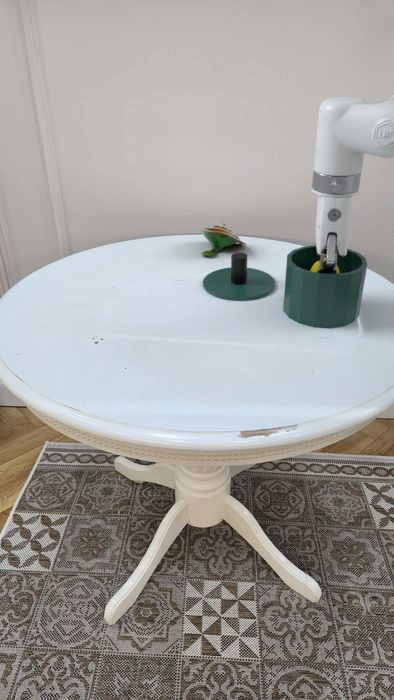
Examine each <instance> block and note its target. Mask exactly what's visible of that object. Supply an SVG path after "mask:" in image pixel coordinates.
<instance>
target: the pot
mask: <svg viewBox="0 0 394 700" xmlns="http://www.w3.org/2000/svg"><path fill="white" fill-rule="evenodd" d="M316 255H318V253H317V248H316V244H314V245H305V246H301V247H298V248H295V249H292V250H291V251H290V252H288V254H287V255H286V264H285V265H286V267H285V280H284V294H283V308H282V311H283V312H284V314H285V315H286V316H287V318H288V319H290V320H292V321H294V322H296V323H298V324H300V325H303V326H307V327H311V328H317V329H334V328H341V327H342V328H343V327H345V326H346V327H347V326H348V325H350V324H352V323H354V322H355V321H356V320H358V318H359V316H360V312H361V305H362V299H363V293H364V287H365V281H366V275H367V269H368V262H367V258H366V257H365V256H364V255H362V254H361V253H359V252H358V251H355V250H353V249H350V248H347V254H346V255H345V256H344V257H342V255H339V252H338V254H337V255H338V256H337V266H338V268H339V272H340V274H325V273H317V272H312V271H310V270H311V268H312V266H313V265H314V264H315V263H316ZM319 256H320V255H319Z"/></svg>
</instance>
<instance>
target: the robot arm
mask: <svg viewBox="0 0 394 700" xmlns="http://www.w3.org/2000/svg"><path fill="white" fill-rule="evenodd" d="M316 126H317V127H316V138H315V147H314V158H313V159H314V161H313V169H312V179H311V190H310V191H311V192H312V193H313V194H314V195H317V203H316V213H315V214H316V215H315V245H316V248H317V253H318V255H316V262H317V261H320V265H319V270H317V273H325V274H336V273H337V271H336V265H337V256H338V255H337V254H338V252H339V255H342V257H344V256H345V255H346V254H347V249H348V243H349V234H350V228H351V227H350V226H351V215H352V205H353V204H352V203H353V201H352V199H353V197H354V196H357V195H358V194H359V191H360V185H361V177H362V171H363V164H364V156H365V154H366V155H369V156H372V157H373V156H374V157H378V158H384V159H392V158H394V94H392V96H391V97H390V98H389V99H387V100H385V101H383V102H380V103H369V102H368V101H367V100H366V99H364V98H361V97H355V96H334V97H329V98H326V99H324V100H323V101H322V102H321V104H320V106H319V109H318V117H317V125H316ZM319 255H320V256H319ZM325 257H326V261H324V262H323V260H324V258H325Z"/></svg>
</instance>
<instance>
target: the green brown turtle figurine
mask: <svg viewBox="0 0 394 700" xmlns="http://www.w3.org/2000/svg"><path fill="white" fill-rule="evenodd" d="M221 224H222V226H221V225H215V224H214V225H212V227H204V228H203V229H193V231H196V232H197V233H201V234H202V235H203V237H204V239H206V240H207V242H208V243H209V244H211V247H212V248H211V249H208V250H204V251H202V252H201V253H200V255H202V256H204V257H208V258H212V257H214V256H215V255H216V254H218V252H219V251H221V250H222V249H224V248H225V247H226V248H227V247H230V246H233V245H236V244H238V245H243V246H247V243H245V242H243V241H242V240H241V238H240V237H239V236H238V235H236V234H235V233H234V231H233V230H231V229H228V228H226V227H225V226H226V223H221Z"/></svg>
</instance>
